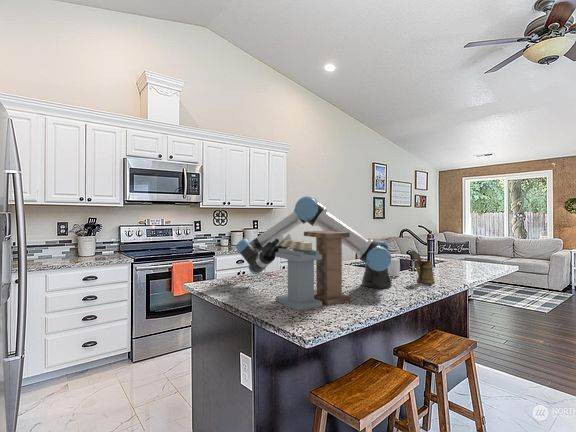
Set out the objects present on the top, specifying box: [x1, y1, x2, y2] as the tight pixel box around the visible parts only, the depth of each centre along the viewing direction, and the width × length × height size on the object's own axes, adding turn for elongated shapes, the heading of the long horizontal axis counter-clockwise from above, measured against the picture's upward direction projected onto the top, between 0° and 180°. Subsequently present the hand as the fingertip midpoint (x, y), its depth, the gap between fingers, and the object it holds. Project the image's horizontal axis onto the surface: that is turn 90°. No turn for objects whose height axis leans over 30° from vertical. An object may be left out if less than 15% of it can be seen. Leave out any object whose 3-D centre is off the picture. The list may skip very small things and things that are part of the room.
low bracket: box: [275, 248, 323, 312], centre depth 143 cm, size 18×12×23 cm, turn 31°
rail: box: [275, 238, 313, 250], centre depth 147 cm, size 26×3×3 cm, turn 31°
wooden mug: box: [410, 249, 436, 285], centre depth 184 cm, size 9×14×18 cm, turn 108°
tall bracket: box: [303, 230, 351, 306], centre depth 151 cm, size 18×12×30 cm, turn 31°
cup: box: [388, 257, 401, 277], centre depth 202 cm, size 8×12×10 cm
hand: (286, 236), depth 151 cm, fingers closed on rail, 3 cm apart
